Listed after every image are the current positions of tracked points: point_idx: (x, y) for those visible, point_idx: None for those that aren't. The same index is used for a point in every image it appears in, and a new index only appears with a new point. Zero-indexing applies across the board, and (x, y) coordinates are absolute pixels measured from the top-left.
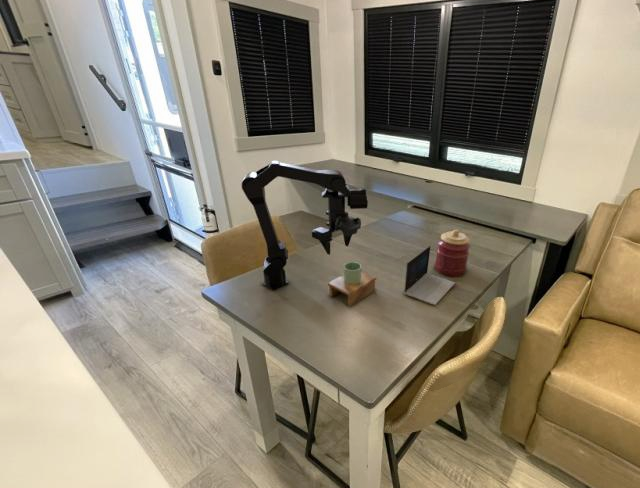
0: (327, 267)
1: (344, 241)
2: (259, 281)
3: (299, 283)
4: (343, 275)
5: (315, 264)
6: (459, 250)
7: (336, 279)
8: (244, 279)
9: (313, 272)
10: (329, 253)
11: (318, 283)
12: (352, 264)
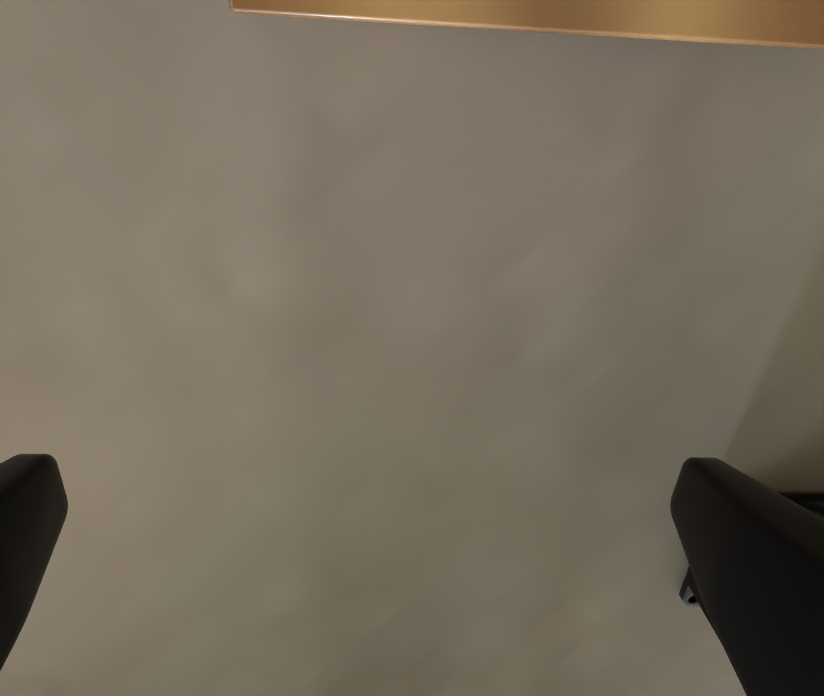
0: (296, 461)
1: (15, 632)
2: None
3: (672, 437)
4: (589, 3)
5: (336, 558)
6: None
7: (761, 9)
8: None
9: (453, 482)
10: (733, 472)
11: (586, 320)
12: None
